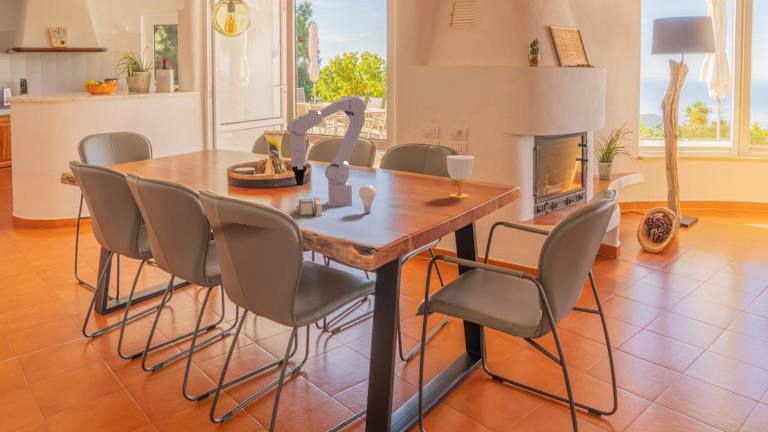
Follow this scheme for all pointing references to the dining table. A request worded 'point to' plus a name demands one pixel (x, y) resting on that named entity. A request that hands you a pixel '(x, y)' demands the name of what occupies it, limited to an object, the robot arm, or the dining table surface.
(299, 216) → the pad
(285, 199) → the dining table surface
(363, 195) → the lightbulb
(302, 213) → the blue-grey cube
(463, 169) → the cup
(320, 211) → the tan rectangular block
